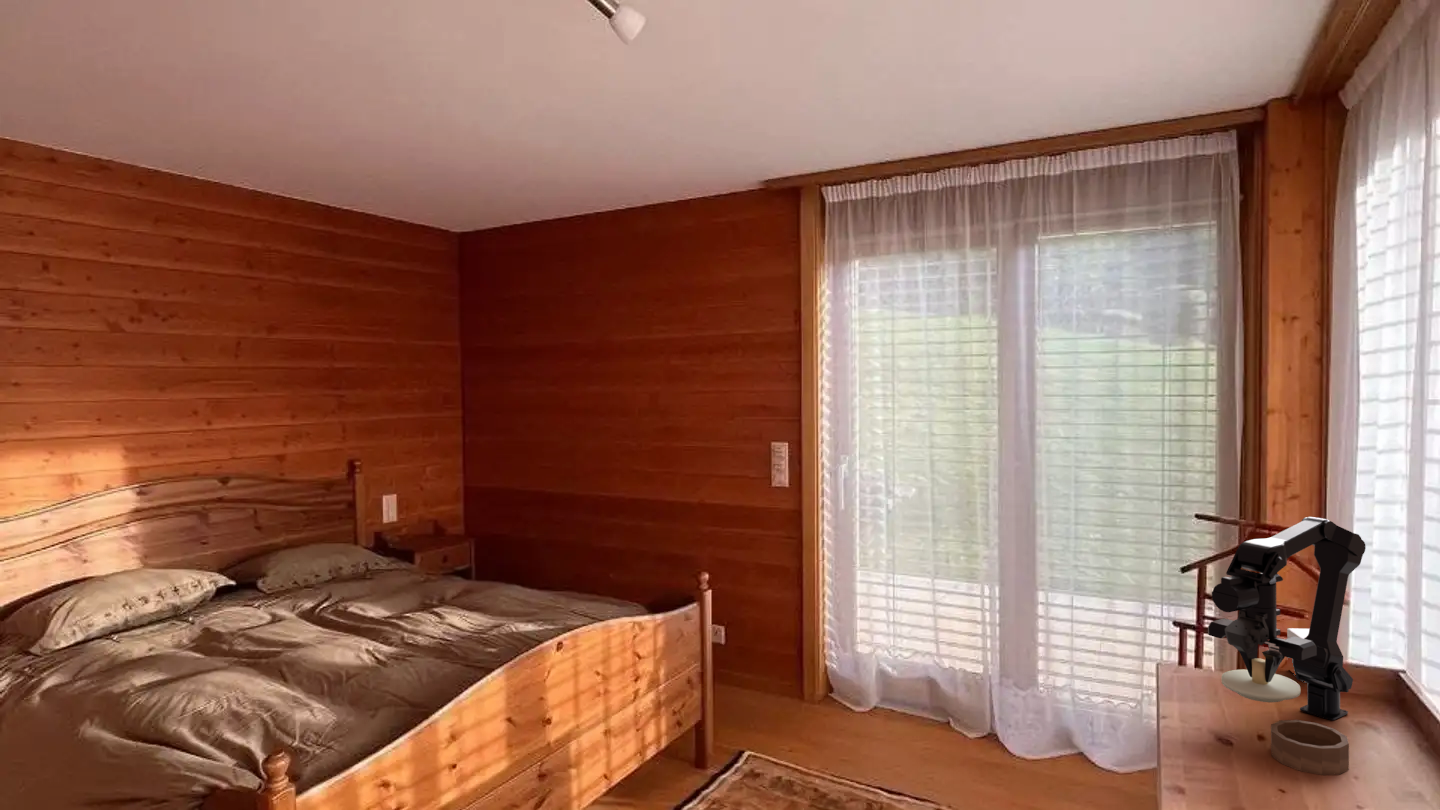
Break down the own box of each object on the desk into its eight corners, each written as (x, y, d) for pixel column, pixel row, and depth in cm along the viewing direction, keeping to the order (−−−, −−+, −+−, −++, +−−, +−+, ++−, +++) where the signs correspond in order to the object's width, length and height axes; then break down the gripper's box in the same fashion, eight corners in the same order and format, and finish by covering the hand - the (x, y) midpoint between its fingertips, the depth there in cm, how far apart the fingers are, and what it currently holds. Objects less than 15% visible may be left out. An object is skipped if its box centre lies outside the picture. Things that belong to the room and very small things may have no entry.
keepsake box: (1292, 739, 169) (1292, 715, 169) (1360, 763, 159) (1360, 737, 158) (1258, 755, 164) (1258, 730, 163) (1327, 781, 153) (1326, 754, 153)
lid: (1246, 676, 182) (1246, 644, 181) (1314, 697, 170) (1314, 664, 169) (1207, 689, 176) (1206, 657, 175) (1275, 713, 164) (1275, 678, 163)
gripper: (1191, 600, 176) (1191, 673, 177) (1284, 623, 160) (1285, 703, 160) (1223, 591, 181) (1224, 662, 182) (1318, 613, 165) (1318, 691, 166)
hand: (1260, 679), depth 172 cm, fingers closed on lid, 3 cm apart
